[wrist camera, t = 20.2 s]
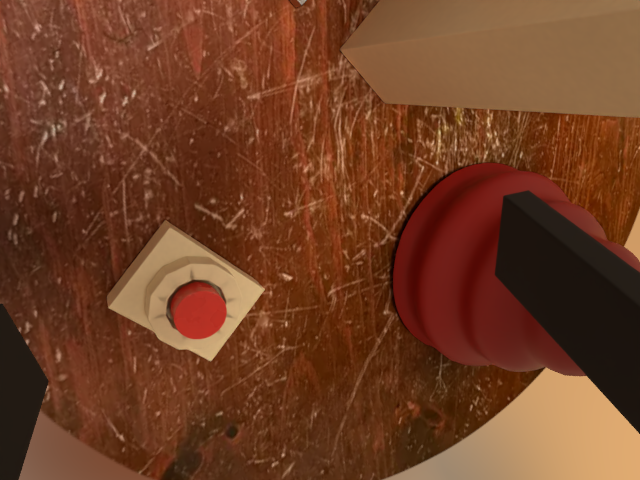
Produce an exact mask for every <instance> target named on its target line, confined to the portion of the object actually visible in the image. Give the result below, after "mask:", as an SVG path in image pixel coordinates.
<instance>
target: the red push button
mask: <svg viewBox="0 0 640 480" xmlns="http://www.w3.org/2000/svg"><path fill="white" fill-rule="evenodd" d="M170 313H171V316H172V319H173V321H174V324H175V326H176V328H177V330H178V331H179V332H180V333H181V334H182V335H183V336H185V337H187V338H190V339H204V338H207V337H210V336H212V335H213V334H215V333H216V332H217V331H218V330H219V329H220V328H221V327H222V325H223V324H224V322H225V319H226V315H227V308H226V304H225V302H224V300H223V299H222V297H221V296H220V295H219V293H218V292H217V290H216V289H215V288H214V287H212V286H211V285H209V284H206V283H202V282H195V283H190V284H188V285H185V286H184V287H182V288H181V289H179V290H178V291H177V292H176V293H175V295H174V296H173V298H172V301H171V304H170Z"/></svg>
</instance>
